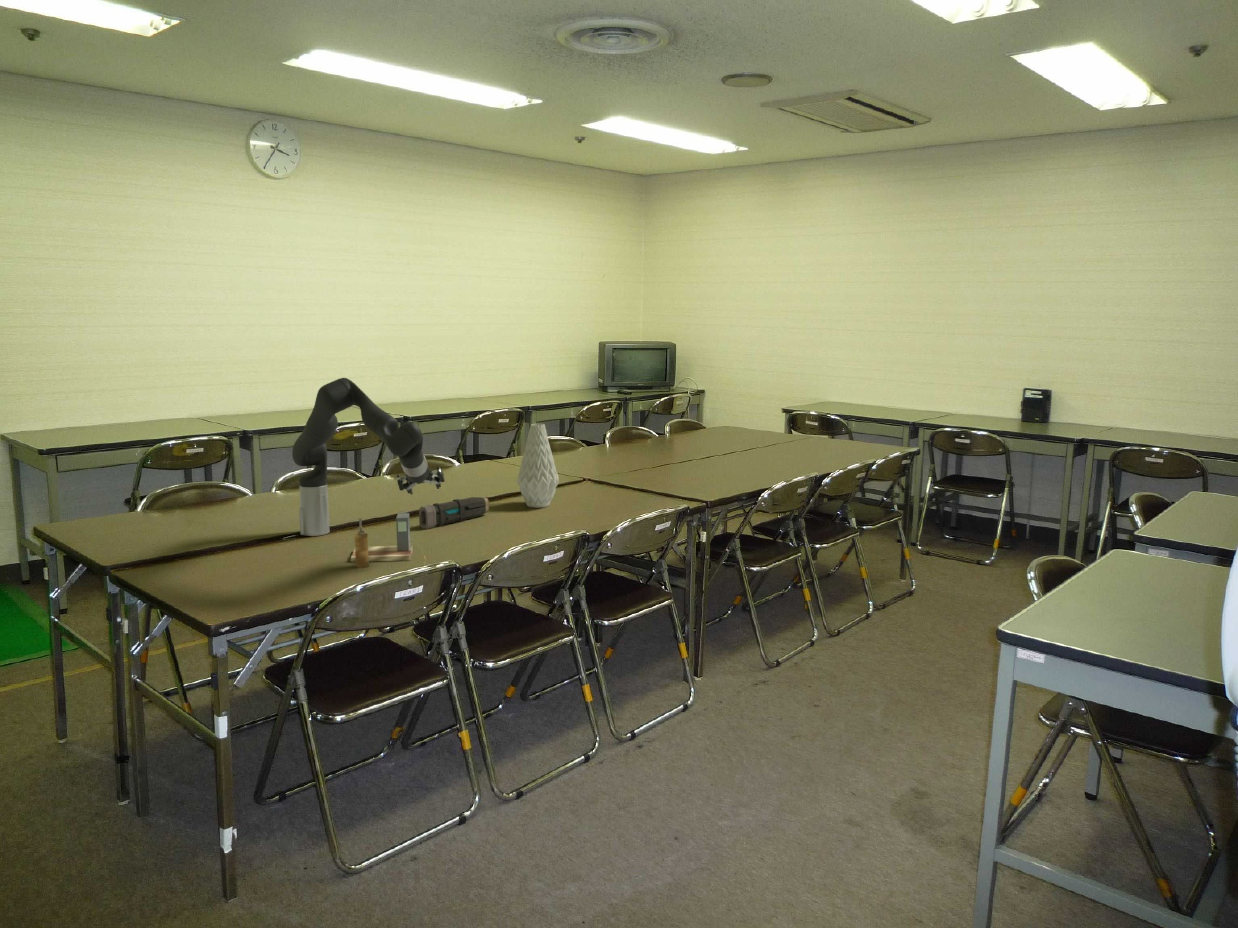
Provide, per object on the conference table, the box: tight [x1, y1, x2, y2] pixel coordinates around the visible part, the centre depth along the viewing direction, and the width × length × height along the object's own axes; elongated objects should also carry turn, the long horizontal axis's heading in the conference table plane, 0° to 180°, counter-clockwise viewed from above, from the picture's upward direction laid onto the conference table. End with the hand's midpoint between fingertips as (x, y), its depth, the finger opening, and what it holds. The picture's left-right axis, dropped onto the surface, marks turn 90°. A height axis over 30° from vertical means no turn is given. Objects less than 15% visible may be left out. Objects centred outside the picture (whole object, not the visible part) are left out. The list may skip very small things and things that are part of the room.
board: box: [350, 544, 414, 563], centre depth 286 cm, size 18×12×2 cm, turn 99°
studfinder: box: [395, 512, 411, 551], centre depth 288 cm, size 4×6×11 cm, turn 9°
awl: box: [354, 517, 369, 569], centre depth 274 cm, size 4×4×15 cm
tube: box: [418, 496, 490, 530], centre depth 330 cm, size 11×7×30 cm
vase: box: [516, 423, 560, 509], centre depth 355 cm, size 17×17×33 cm
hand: (424, 489), depth 288 cm, fingers open, 8 cm apart
